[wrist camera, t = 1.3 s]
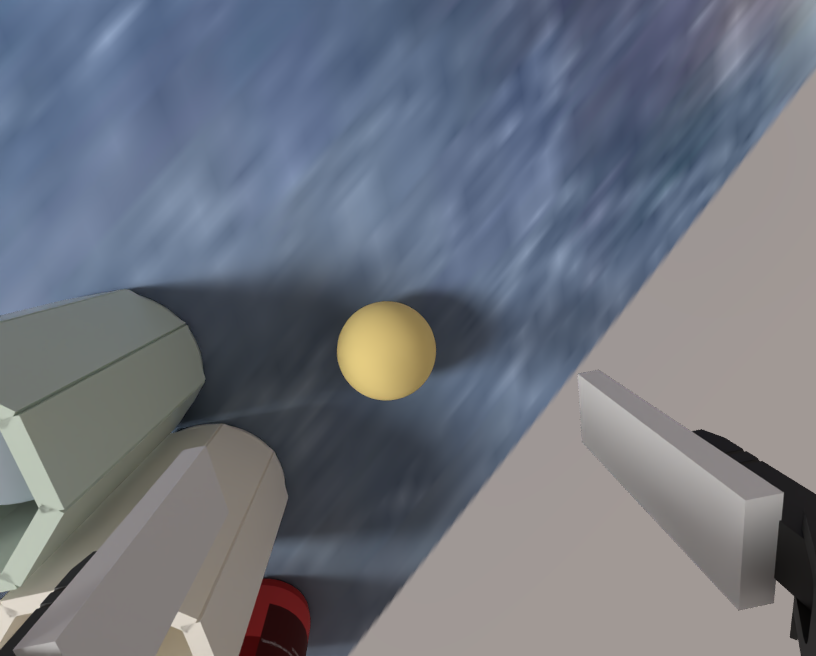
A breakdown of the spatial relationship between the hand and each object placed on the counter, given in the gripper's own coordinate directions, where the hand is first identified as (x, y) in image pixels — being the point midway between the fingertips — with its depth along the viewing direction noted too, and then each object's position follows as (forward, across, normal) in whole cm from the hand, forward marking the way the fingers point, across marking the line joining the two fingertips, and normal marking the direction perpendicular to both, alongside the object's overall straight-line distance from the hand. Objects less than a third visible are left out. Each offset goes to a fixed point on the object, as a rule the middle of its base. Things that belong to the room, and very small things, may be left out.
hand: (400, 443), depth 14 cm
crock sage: (+14, -17, +1) cm, 22 cm away
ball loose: (+11, 0, 0) cm, 11 cm away
